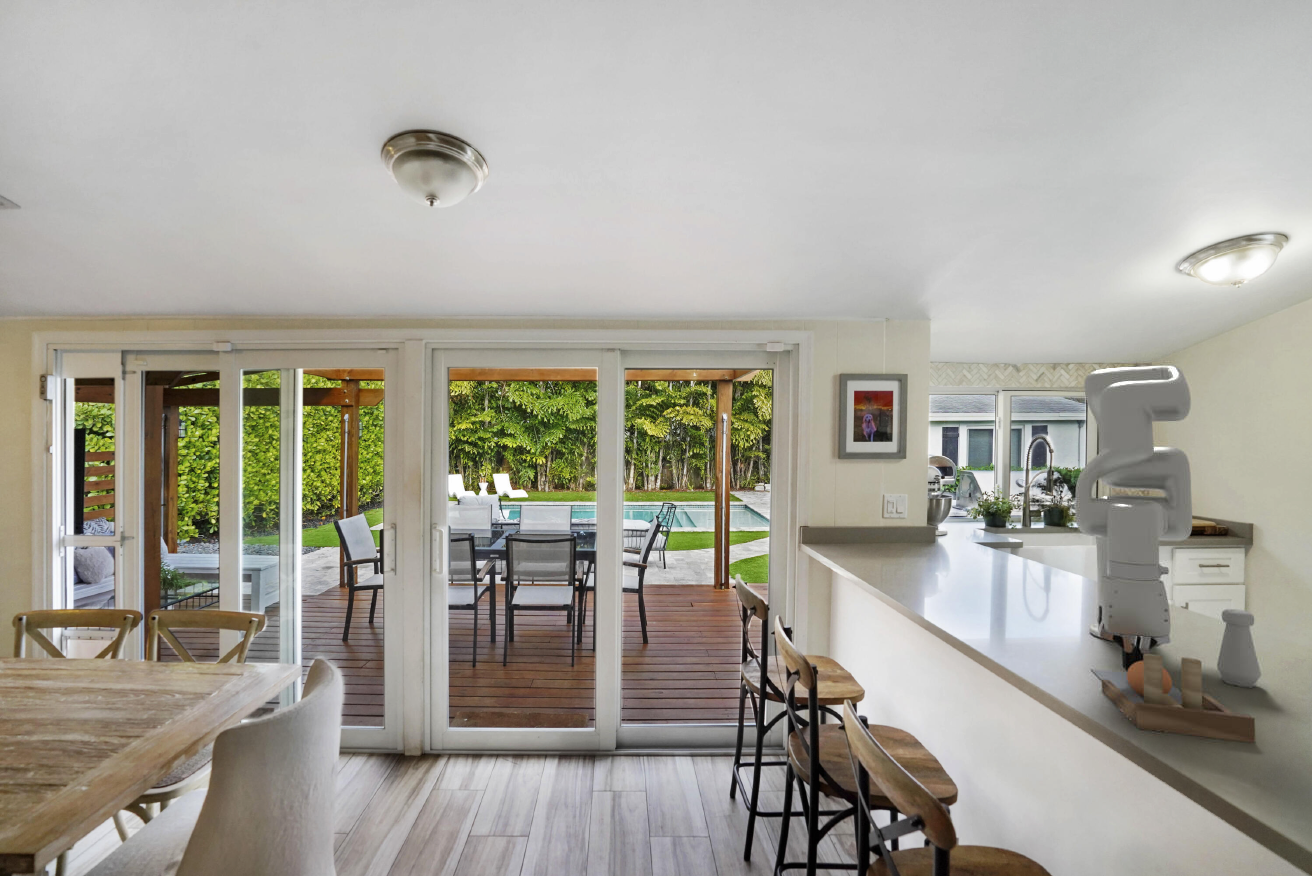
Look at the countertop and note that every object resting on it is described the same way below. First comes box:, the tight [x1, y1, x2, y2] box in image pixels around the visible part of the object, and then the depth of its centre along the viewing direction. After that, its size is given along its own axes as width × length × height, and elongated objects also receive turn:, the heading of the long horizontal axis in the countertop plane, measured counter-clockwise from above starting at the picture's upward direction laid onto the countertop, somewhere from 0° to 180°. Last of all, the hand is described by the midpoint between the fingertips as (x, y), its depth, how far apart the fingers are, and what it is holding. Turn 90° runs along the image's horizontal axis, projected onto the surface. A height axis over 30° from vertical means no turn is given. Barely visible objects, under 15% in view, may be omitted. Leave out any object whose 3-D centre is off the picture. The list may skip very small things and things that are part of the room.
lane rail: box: [1101, 679, 1256, 744], centre depth 100 cm, size 16×14×4 cm
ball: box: [1126, 661, 1173, 696], centre depth 106 cm, size 6×6×6 cm
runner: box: [1090, 668, 1204, 710], centre depth 105 cm, size 26×11×1 cm, turn 161°
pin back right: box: [1143, 653, 1164, 705], centre depth 100 cm, size 2×2×9 cm
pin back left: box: [1180, 656, 1203, 710], centre depth 98 cm, size 2×2×9 cm
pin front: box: [1163, 694, 1184, 708], centre depth 98 cm, size 2×2×9 cm
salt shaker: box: [1216, 608, 1262, 688], centre depth 113 cm, size 6×6×13 cm
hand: (1133, 672), depth 114 cm, fingers closed
